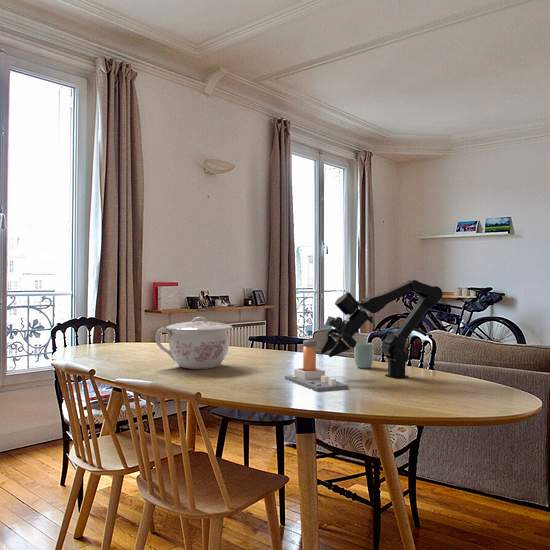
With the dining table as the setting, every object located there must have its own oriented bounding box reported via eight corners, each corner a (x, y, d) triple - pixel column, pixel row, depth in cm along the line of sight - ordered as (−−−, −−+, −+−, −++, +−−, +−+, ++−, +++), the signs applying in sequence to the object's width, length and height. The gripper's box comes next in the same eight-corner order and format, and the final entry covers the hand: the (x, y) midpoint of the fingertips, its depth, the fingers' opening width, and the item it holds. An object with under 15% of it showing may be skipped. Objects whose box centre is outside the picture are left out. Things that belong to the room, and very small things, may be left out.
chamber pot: (245, 365, 234) (245, 316, 234) (205, 375, 211) (205, 320, 211) (193, 359, 249) (193, 313, 249) (149, 368, 225) (150, 317, 225)
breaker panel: (348, 388, 187) (348, 377, 187) (316, 391, 182) (316, 380, 182) (313, 376, 209) (313, 366, 209) (284, 379, 204) (284, 368, 204)
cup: (351, 368, 228) (351, 343, 229) (357, 365, 235) (358, 342, 235) (369, 370, 225) (370, 345, 225) (375, 367, 232) (376, 343, 232)
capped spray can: (318, 376, 203) (318, 340, 203) (310, 378, 199) (310, 341, 199) (308, 375, 206) (308, 339, 206) (300, 376, 202) (300, 340, 202)
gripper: (330, 307, 214) (303, 336, 212) (347, 310, 196) (317, 342, 193) (350, 327, 216) (323, 356, 213) (368, 332, 198) (339, 364, 195)
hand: (325, 354), depth 204 cm, fingers open, 9 cm apart
